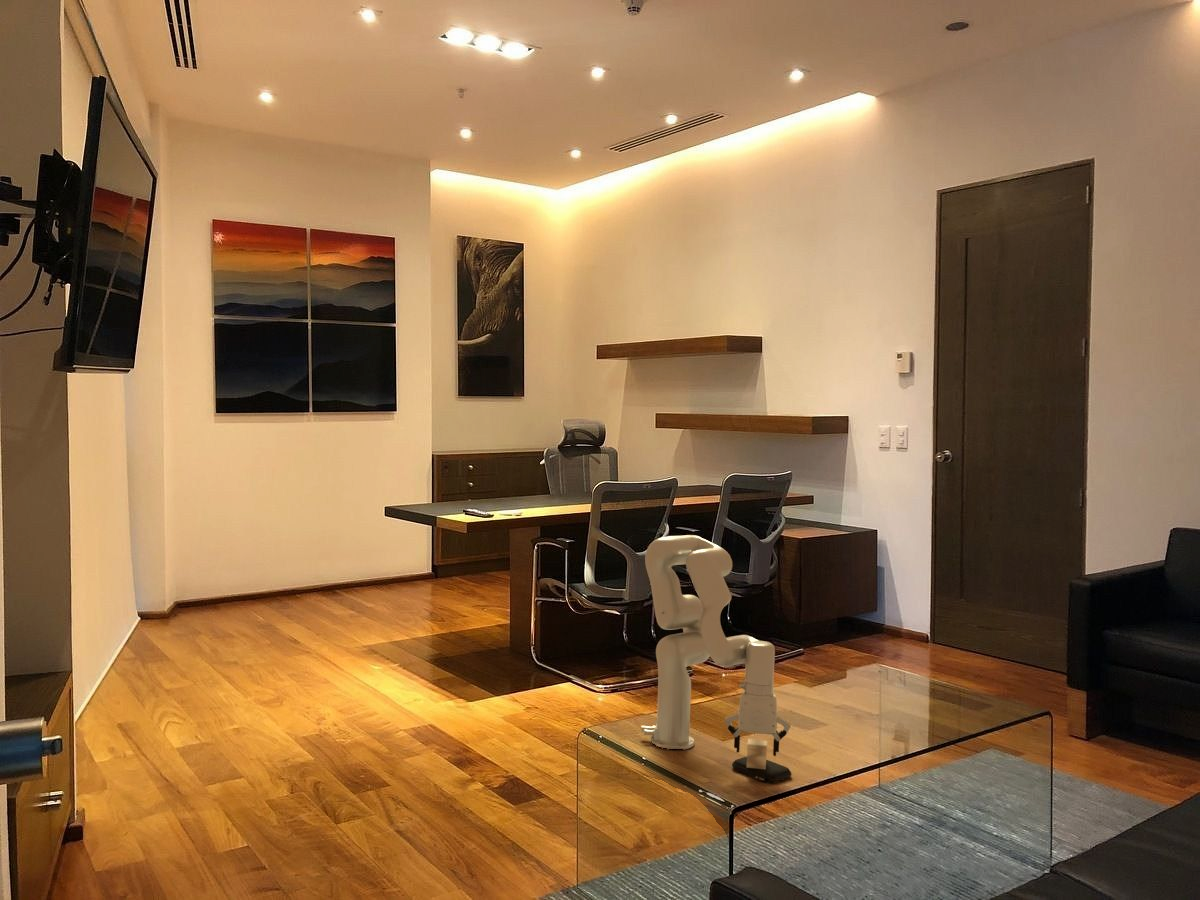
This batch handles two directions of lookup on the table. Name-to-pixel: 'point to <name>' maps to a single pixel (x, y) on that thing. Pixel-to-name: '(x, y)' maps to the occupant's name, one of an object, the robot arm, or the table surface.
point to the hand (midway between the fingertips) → (756, 752)
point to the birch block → (756, 754)
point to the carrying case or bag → (763, 771)
